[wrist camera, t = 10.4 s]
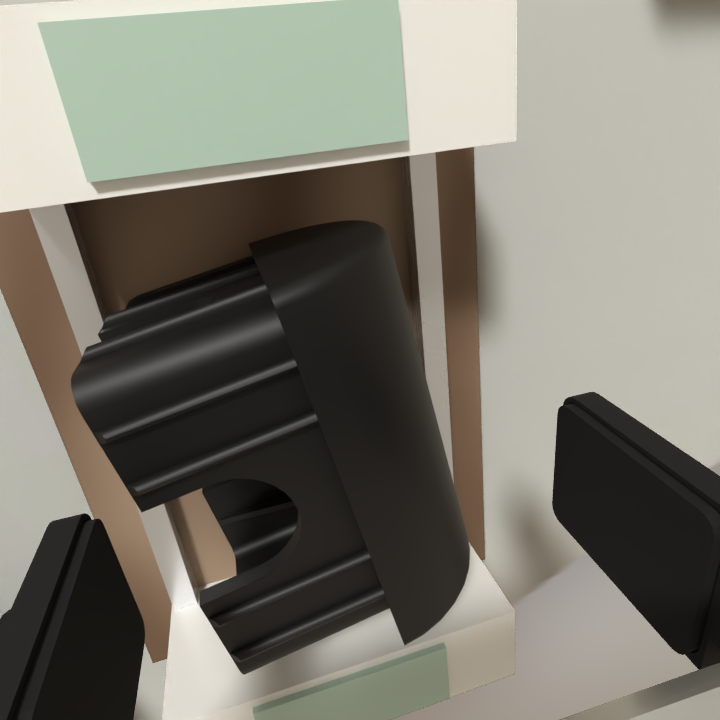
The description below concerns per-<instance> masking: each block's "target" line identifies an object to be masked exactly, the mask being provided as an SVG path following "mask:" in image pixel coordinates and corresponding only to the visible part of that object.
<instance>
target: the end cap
mask: <svg viewBox="0 0 720 720" xmlns="http://www.w3.org/2000/svg"><path fill="white" fill-rule="evenodd" d="M248 245H249V247H250V250H251V253H252V255H253V256H249V257H246V258H243V259H240V260H237V261H235V262H232V263H229V264H226V265H223V266H220V267H217V268H215V269H212V270H209V271H206V272H203V273H200V274H197V275H195V276H192V277H189V278H186V279H183V280H180V281H177V282H175V283H172V284H169V285H166V286H163V287H160V288H157V289H154V290H152V291H149V292H146V293H143V294H140V295H138V296H136V297H135V298H133V299H132V300H130V301H129V302H128V304H127V306H126V308H125V309H124V310H121V311H118V312H115V313H112V314H109V315H107V317H106V319H105V321H104V324H103V326H102V328H101V330H100V331H99V333H98V336H99V338H100V340H101V342H99V343H97V344H94V345H91V346H88V347H86V349H85V351H84V354H83V356H82V358H81V361H80V363H79V364H78V366H77V367H76V369H75V371H74V372H73V374H72V377H71V389H72V394H73V398H74V400H75V403H76V406H77V408H78V410H79V412H80V413H81V415H82V417H83V419H84V420H85V422H86V424H87V425H88V427H89V428H90V430H91V432H92V433H93V435H94V437H95V438H96V440H97V441H98V443H99V445H100V446H101V448H102V449H103V451H104V453H105V454H106V456H107V458H108V459H109V461H110V462H111V464H112V466H113V467H114V469H115V470H116V472H117V474H118V475H119V477H120V479H121V480H122V482H123V483H124V485H125V487H126V488H127V490H128V491H129V493H130V495H131V496H132V498H133V500H134V501H135V503H136V504H137V506H138V508H139V509H140V511H141V512H144V511H147V510H149V509H152V508H154V507H157V506H159V505H162V504H164V503H167V502H169V501H171V500H174V499H176V498H179V497H181V496H184V495H186V494H189V493H191V492H194V491H196V490H199V489H201V488H202V494H203V496H204V497H205V499H206V501H207V503H208V505H209V507H210V509H211V510H212V512H213V514H214V516H215V518H216V520H217V522H218V523H219V525H220V527H221V529H222V531H223V533H224V535H225V536H226V538H227V540H228V542H229V544H230V546H231V547H232V550H233V552H234V555H235V560H236V576H234V577H232V578H229V579H227V580H225V581H222V582H220V583H218V584H215V585H213V586H211V587H208V588H206V589H204V590H202V591H200V602H199V606H200V608H201V609H202V611H203V613H204V614H205V616H206V617H207V619H208V621H209V622H210V624H211V625H212V627H213V629H214V630H215V632H216V634H217V635H218V637H219V638H220V640H221V642H222V643H223V645H224V646H225V648H226V650H227V651H228V653H229V655H230V656H231V658H232V659H233V661H234V663H235V664H236V666H237V667H238V669H239V671H240V672H241V673H242V674H244V675H245V674H247V673H249V672H252V671H254V670H256V669H258V668H260V667H263V666H265V665H267V664H269V663H271V662H274V661H276V660H278V659H280V658H282V657H284V656H287V655H289V654H291V653H293V652H295V651H298V650H300V649H302V648H304V647H306V646H308V645H311V644H313V643H315V642H317V641H319V640H322V639H324V638H326V637H328V636H330V635H332V634H335V633H337V632H339V631H341V630H343V629H346V628H348V627H350V626H352V625H354V624H356V623H359V622H361V621H363V620H365V619H367V618H370V617H372V616H374V615H376V614H378V613H381V612H383V611H385V610H387V609H389V608H390V610H391V613H392V616H393V618H394V621H395V623H396V626H397V628H398V631H399V633H400V636H401V638H402V641H403V643H404V646H405V645H407V644H409V643H410V642H412V641H414V640H415V639H417V638H419V637H421V636H422V635H424V634H425V633H426V632H428V631H429V630H430V629H431V628H432V627H433V626H435V625H436V624H437V623H438V622H439V621H440V620H442V618H443V617H444V616H445V615H446V613H447V612H448V611H449V610H450V608H451V607H452V606H453V605H454V603H455V602H456V600H457V598H458V596H459V594H460V592H461V590H462V588H463V586H464V584H465V581H466V577H467V574H468V570H469V563H470V546H469V542H468V537H467V533H466V529H465V525H464V521H463V517H462V514H461V510H460V506H459V502H458V498H457V495H456V491H455V487H454V483H453V479H452V476H451V472H450V468H449V464H448V460H447V457H446V453H445V449H444V445H443V441H442V438H441V434H440V430H439V426H438V422H437V418H436V415H435V411H434V407H433V403H432V399H431V396H430V392H429V388H428V384H427V380H426V377H425V373H424V369H423V365H422V361H421V358H420V354H419V350H418V346H417V342H416V339H415V335H414V331H413V327H412V323H411V320H410V316H409V312H408V308H407V304H406V301H405V297H404V293H403V289H402V285H401V282H400V278H399V274H398V270H397V266H396V262H395V259H394V255H393V251H392V247H391V243H390V240H389V236H388V234H387V232H386V231H385V230H384V229H383V228H382V227H381V226H379V225H378V224H376V223H373V222H368V221H363V220H348V221H336V222H330V223H323V224H318V225H313V226H309V227H304V228H300V229H296V230H292V231H288V232H284V233H281V234H278V235H274V236H271V237H267V238H264V239H261V240H258V241H255V242H252V243H249V244H248Z"/></svg>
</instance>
